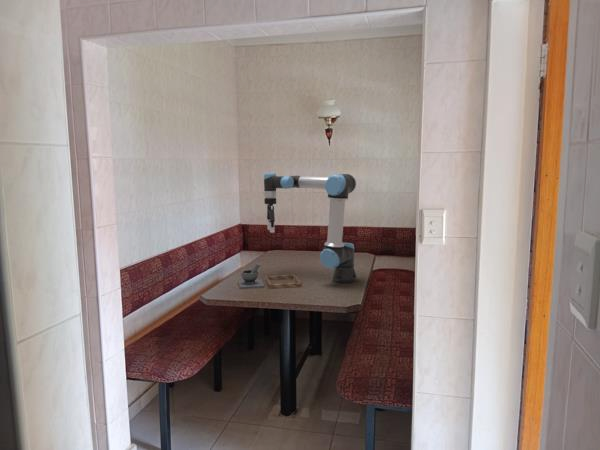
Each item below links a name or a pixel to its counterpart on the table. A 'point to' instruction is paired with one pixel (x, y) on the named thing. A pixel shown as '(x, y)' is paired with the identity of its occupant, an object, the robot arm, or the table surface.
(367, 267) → the table surface
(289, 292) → the table surface
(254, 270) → the mortar and pestle
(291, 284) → the frame
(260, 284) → the rubber mat
